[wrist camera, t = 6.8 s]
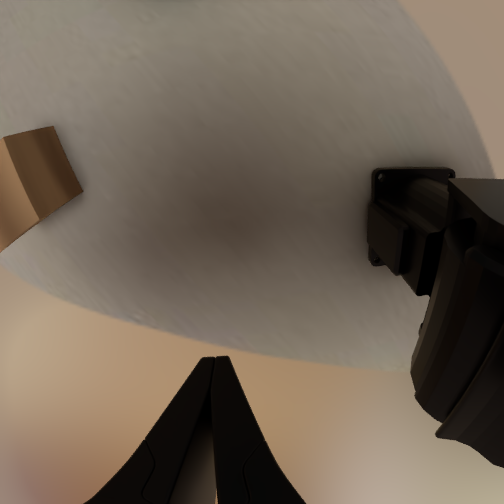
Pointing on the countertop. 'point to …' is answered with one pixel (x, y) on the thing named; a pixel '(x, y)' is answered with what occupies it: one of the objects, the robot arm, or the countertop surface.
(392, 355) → the countertop surface
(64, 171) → the walnut cube
